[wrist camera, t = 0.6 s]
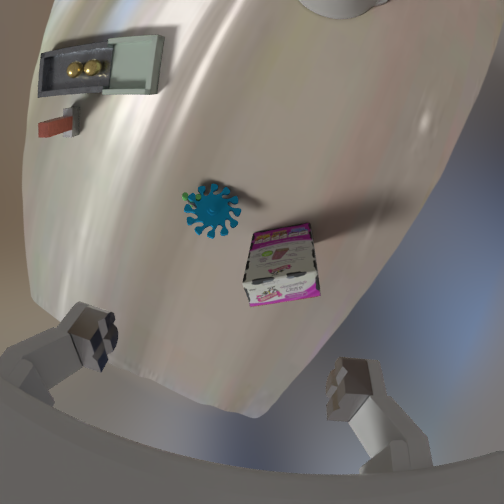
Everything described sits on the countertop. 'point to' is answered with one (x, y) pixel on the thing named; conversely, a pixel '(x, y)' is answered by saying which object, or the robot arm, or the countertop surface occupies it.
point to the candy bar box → (281, 266)
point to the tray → (135, 65)
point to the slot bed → (60, 83)
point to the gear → (211, 210)
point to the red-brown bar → (61, 124)
